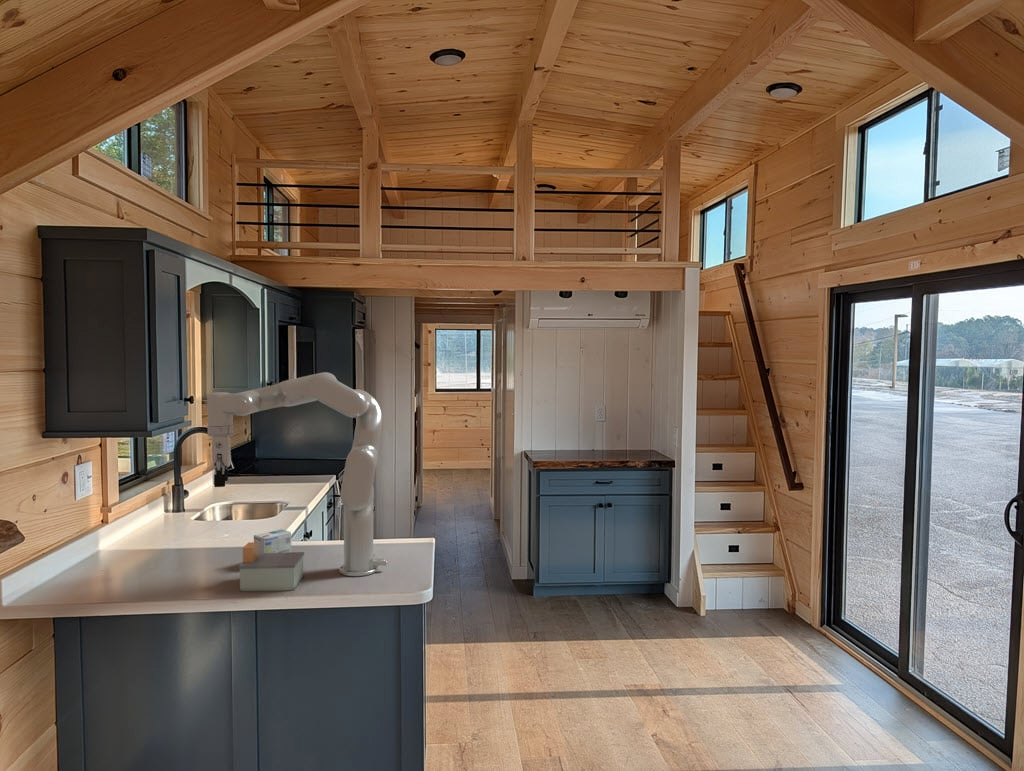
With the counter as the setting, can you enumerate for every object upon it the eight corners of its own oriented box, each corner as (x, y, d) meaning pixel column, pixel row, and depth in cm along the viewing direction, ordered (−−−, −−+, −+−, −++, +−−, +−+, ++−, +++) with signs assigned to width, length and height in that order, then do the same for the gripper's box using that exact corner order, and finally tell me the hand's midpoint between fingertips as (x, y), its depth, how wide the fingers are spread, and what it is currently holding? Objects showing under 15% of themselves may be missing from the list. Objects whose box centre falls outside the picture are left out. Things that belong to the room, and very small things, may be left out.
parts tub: (303, 578, 224) (303, 554, 224) (294, 592, 211) (294, 567, 211) (252, 579, 223) (252, 555, 222) (240, 594, 210) (239, 568, 209)
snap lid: (304, 557, 224) (304, 538, 224) (294, 571, 210) (294, 550, 210) (251, 558, 223) (251, 539, 222) (238, 572, 209) (238, 551, 209)
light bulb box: (281, 558, 243) (281, 528, 242) (292, 562, 238) (292, 531, 238) (253, 566, 234) (252, 534, 234) (264, 570, 230) (263, 538, 229)
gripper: (230, 433, 215) (231, 488, 216) (235, 427, 231) (235, 478, 232) (204, 434, 213) (205, 489, 214) (210, 428, 229) (211, 479, 230)
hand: (221, 483), depth 223 cm, fingers open, 9 cm apart
